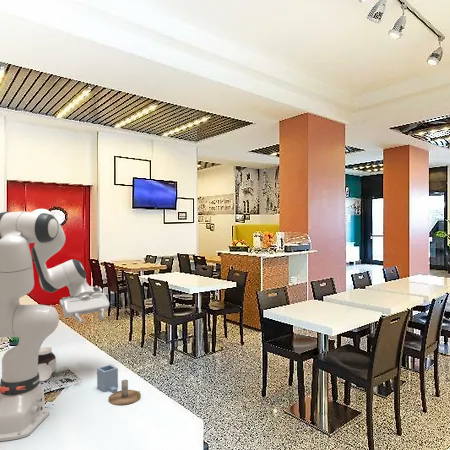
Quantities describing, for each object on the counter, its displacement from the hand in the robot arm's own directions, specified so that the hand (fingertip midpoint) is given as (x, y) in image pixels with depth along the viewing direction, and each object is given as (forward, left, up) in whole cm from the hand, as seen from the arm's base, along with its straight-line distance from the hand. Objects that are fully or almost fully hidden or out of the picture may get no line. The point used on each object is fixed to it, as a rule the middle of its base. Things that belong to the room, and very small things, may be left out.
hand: (92, 320), depth 166 cm
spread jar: (+6, +21, -26) cm, 34 cm away
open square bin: (-12, -8, -25) cm, 29 cm away
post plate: (-22, -15, -25) cm, 37 cm away
